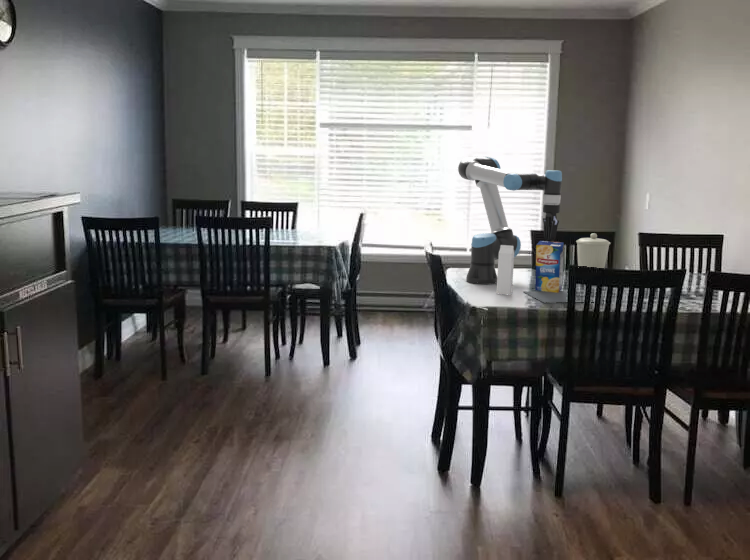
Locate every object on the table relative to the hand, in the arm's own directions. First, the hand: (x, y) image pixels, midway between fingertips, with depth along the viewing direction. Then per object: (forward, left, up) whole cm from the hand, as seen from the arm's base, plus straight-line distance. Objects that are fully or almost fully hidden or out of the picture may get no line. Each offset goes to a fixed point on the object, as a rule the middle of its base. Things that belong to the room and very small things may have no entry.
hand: (548, 255), depth 343 cm
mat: (0, -17, -17) cm, 24 cm away
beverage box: (0, -3, -16) cm, 16 cm away
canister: (+48, +53, -17) cm, 73 cm away
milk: (-23, -7, -17) cm, 29 cm away
